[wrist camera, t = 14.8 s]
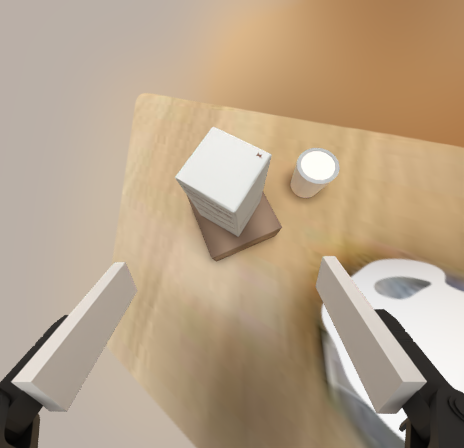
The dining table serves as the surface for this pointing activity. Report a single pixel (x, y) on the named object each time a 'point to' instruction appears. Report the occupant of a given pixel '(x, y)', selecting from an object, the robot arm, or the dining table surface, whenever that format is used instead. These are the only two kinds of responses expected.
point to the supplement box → (225, 179)
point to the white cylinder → (313, 172)
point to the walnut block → (254, 232)
